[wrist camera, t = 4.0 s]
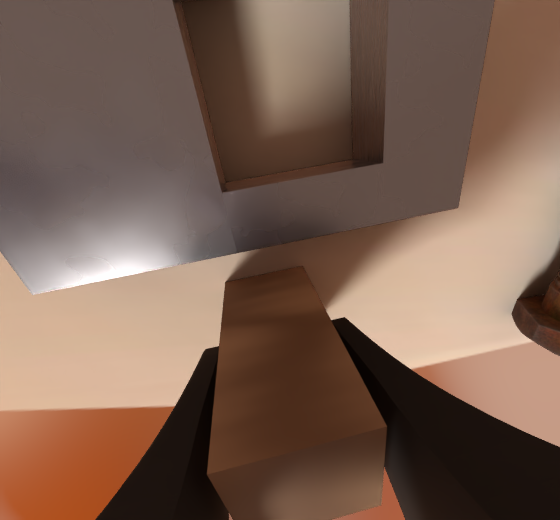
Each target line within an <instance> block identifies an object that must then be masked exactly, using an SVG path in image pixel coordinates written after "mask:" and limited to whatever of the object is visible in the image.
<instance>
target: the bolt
mask: <svg viewBox="0 0 560 520" xmlns="http://www.w3.org/2000/svg"><path fill="white" fill-rule="evenodd" d="M512 316H513V319H514V322H515V324H516V326H517V327H518V329H519V330H520V331H521V333H522V334H524V335H525V336H526V337H528V338H529V339H531V340H532V341H534V342H535V343H537V344H538V345H540V346H542V347H544V348H546V349H547V350H549V351H551V352H552V353H554V354H556V355H558V356H560V270H559V271H558V275H557V276H556V278H555V280H553V281H552V282H551V284H550V286H549V288H548V291H547V293H546V294H544V295H538V296H532V297H526V298H520V299H517V301H516V304H515V306H514V309H513V311H512Z"/></svg>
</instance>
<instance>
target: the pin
mask: <svg viewBox="0 0 560 520" xmlns="http://www.w3.org/2000/svg"><path fill="white" fill-rule="evenodd" d="M386 434H387V425H386V423H385V422H384V420H383V418H382V416H381V414H380V412H379V410H378V408H377V406H376V405H375V403H374V401H373V399H372V397H371V395H370V393H369V391H368V389H367V388H366V386H365V384H364V382H363V380H362V378H361V376H360V374H359V372H358V370H357V369H356V367H355V365H354V363H353V361H352V359H351V357H350V355H349V353H348V352H347V350H346V348H345V346H344V344H343V342H342V340H341V338H340V336H339V334H338V333H337V331H336V329H335V327H334V325H333V323H332V321H331V319H330V317H329V316H328V314H327V312H326V310H325V308H324V306H323V304H322V302H321V300H320V298H319V297H318V295H317V293H316V291H315V289H314V287H313V285H312V283H311V281H310V280H309V278H308V276H307V274H306V272H305V270H304V268H303V266H300V267H295V268H291V269H286V270H281V271H276V272H272V273H267V274H262V275H258V276H253V277H248V278H243V279H239V280H234V281H229V282H225V291H224V302H223V312H222V322H221V333H220V343H219V354H218V364H217V374H216V385H215V395H214V406H213V416H212V426H211V437H210V447H209V458H208V468H207V476H208V477H209V479H210V481H211V482H212V484H213V486H214V488H215V489H216V491H217V493H218V494H219V496H220V498H221V500H222V501H223V503H224V505H225V507H226V508H227V510H228V512H229V513H230V515H231V517H232V519H233V520H332V519H335V518H339V517H342V516H346V515H349V514H353V513H356V512H359V511H363V510H366V509H370V508H373V507H377V506H380V505H381V502H382V488H383V475H384V461H385V448H386Z"/></svg>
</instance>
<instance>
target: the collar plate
mask: <svg viewBox="0 0 560 520" xmlns="http://www.w3.org/2000/svg"><path fill="white" fill-rule="evenodd" d="M187 1H195V0H0V252H1V253H2V254H3V256H4V257H5V258H6V260H7V261H8V263H9V264H10V265H11V267H12V268H13V269H14V271H15V272H16V273H17V275H18V276H19V277H20V279H21V280H22V282H23V283H24V284H25V286H26V287H27V288H28V290H29V291H30V292H31V294H32V295H34V294H39V293H44V292H49V291H54V290H59V289H64V288H69V287H74V286H78V285H83V284H88V283H93V282H98V281H103V280H108V279H113V278H118V277H123V276H127V275H132V274H137V273H142V272H147V271H152V270H157V269H162V268H167V267H171V266H176V265H181V264H186V263H191V262H196V261H201V260H206V259H211V258H216V257H220V256H225V255H230V254H235V253H240V252H245V251H250V250H255V249H260V248H264V247H269V246H274V245H279V244H284V243H289V242H294V241H299V240H304V239H309V238H313V237H318V236H323V235H328V234H333V233H338V232H343V231H348V230H353V229H357V228H362V227H367V226H372V225H377V224H382V223H387V222H392V221H397V220H402V219H406V218H411V217H416V216H421V215H426V214H431V213H436V212H441V211H446V210H451V209H455V208H458V206H459V200H460V194H461V189H462V183H463V177H464V172H465V166H466V160H467V155H468V149H469V143H470V138H471V132H472V126H473V120H474V115H475V109H476V103H477V98H478V92H479V86H480V81H481V75H482V69H483V64H484V58H485V52H486V47H487V41H488V35H489V30H490V24H491V18H492V13H493V7H494V1H495V0H350V38H351V92H352V146H353V159H352V160H346V161H341V162H335V163H330V164H324V165H319V166H313V167H308V168H302V169H297V170H292V171H286V172H281V173H275V174H270V175H264V176H259V177H253V178H248V179H242V180H237V181H231V182H226V183H225V179H224V175H223V171H222V166H221V162H220V158H219V154H218V150H217V146H216V142H215V138H214V134H213V130H212V126H211V122H210V118H209V114H208V109H207V105H206V101H205V97H204V93H203V89H202V85H201V81H200V77H199V73H198V69H197V65H196V61H195V57H194V53H193V48H192V44H191V40H190V36H189V32H188V28H187V24H186V20H185V16H184V12H183V8H182V4H181V2H187Z"/></svg>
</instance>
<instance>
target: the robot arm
mask: <svg viewBox="0 0 560 520" xmlns="http://www.w3.org/2000/svg"><path fill="white" fill-rule="evenodd" d="M331 321H332V323H333V325H334V327H335V329H336V331H337V333H338V334H339V336H340V338H341V340H342V342H343V344H344V346H345V348H346V350H347V352H348V353H349V355H350V357H351V359H352V361H353V363H354V365H355V367H356V369H357V370H358V372H359V374H360V376H361V378H362V380H363V382H364V384H365V386H366V388H367V389H368V391H369V393H370V395H371V397H372V399H373V401H374V403H375V405H376V406H377V408H378V410H379V412H380V414H381V416H382V418H383V420H384V422H385V423H386V425H387V434H386V448H385V461H384V467H385V469H386V472H387V474H388V477H389V479H390V482H391V484H392V487H393V489H394V492H395V494H396V497H397V499H398V502H399V504H400V507H401V509H402V512H403V515H404V517H405V520H560V447H558V446H555V445H553V444H551V443H549V442H546V441H544V440H542V439H539V438H537V437H535V436H532V435H530V434H528V433H526V432H524V431H521V430H519V429H517V428H515V427H513V426H511V425H509V424H507V423H505V422H503V421H501V420H498V419H496V418H494V417H492V416H490V415H488V414H486V413H484V412H483V411H481V410H479V409H477V408H475V407H473V406H472V405H469V404H468V403H466V402H464V401H462V400H460V399H458V398H456V397H455V396H453V395H451V394H449V393H448V392H446V391H444V390H443V389H441V388H439V387H437V386H436V385H434V384H433V383H431V382H429V381H428V380H426V379H424V378H423V377H421V376H420V375H418V374H417V373H415V372H414V371H412V370H411V369H409V368H408V367H407V366H405V365H404V364H402V363H401V362H400V361H398V360H397V359H395V358H394V357H393V356H391V355H390V354H389V353H387V352H386V351H385V350H383V349H382V348H381V347H380V346H378V345H377V344H376V343H375V342H373V341H372V340H371V339H370V338H368V337H367V336H366V335H365V334H364V333H362V332H361V331H360V330H359V329H358V328H357V327H355V326H354V325H353V324H352V323H351V322H350V321H349V320H348V319H346V318H345V317H343V318H339V319H335V320H331ZM218 354H219V346H218V347H213V348H209V349H205V351H204V352H203V354H202V356H201V358H200V360H199V362H198V364H197V367H196V369H195V371H194V372H193V374H192V376H191V378H190V380H189V382H188V384H187V386H186V388H185V389H184V391H183V393H182V395H181V397H180V399H179V400H178V402H177V404H176V406H175V407H174V409H173V411H172V412H171V414H170V416H169V417H168V419H167V421H166V422H165V424H164V426H163V428H162V429H161V430H160V432H159V434H158V435H157V437H156V438H155V440H154V441H153V443H152V444H151V446H150V447H149V449H148V450H147V452H146V453H145V455H144V456H143V457H142V459H141V460H140V462H139V463H138V465H137V466H136V467H135V469H134V470H133V471H132V473H131V474H130V475H129V477H128V478H127V480H126V481H125V482H124V484H123V485H122V486H121V488H120V489H119V490H118V492H117V493H116V494H115V496H114V497H113V498H112V500H111V501H110V502H109V503H108V505H107V506H106V507H105V508H104V510H103V511H102V512H101V513H100V515H99V516H98V517H97V518H96V520H229V512H228V510H227V508H226V507H225V505H224V503H223V501H222V500H221V498H220V496H219V494H218V493H217V491H216V489H215V488H214V486H213V484H212V482H211V481H210V479H209V477H208V476H207V468H208V458H209V447H210V437H211V426H212V416H213V406H214V395H215V385H216V374H217V364H218Z"/></svg>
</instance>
